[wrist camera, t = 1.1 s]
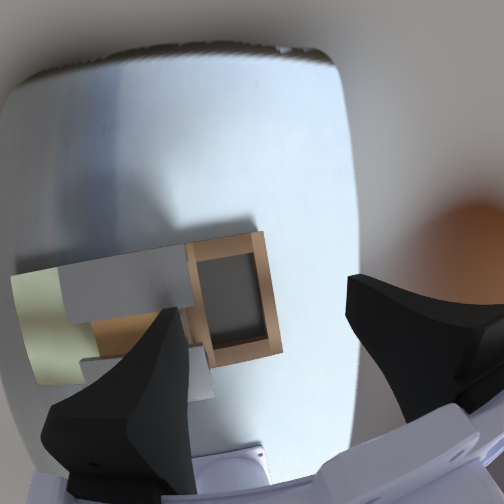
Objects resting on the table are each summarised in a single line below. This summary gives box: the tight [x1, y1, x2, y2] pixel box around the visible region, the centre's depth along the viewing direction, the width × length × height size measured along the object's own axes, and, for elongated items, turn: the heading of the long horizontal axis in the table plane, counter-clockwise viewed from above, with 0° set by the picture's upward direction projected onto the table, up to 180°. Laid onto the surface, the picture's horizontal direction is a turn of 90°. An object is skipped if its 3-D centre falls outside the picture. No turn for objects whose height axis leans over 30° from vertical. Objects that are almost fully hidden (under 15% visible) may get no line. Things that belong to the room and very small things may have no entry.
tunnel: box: [57, 244, 215, 402], centre depth 18 cm, size 9×8×6 cm
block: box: [91, 312, 160, 356], centre depth 19 cm, size 5×5×4 cm
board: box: [10, 231, 283, 385], centre depth 22 cm, size 10×22×2 cm, turn 99°
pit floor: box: [196, 253, 265, 346], centre depth 24 cm, size 7×4×1 cm, turn 10°
